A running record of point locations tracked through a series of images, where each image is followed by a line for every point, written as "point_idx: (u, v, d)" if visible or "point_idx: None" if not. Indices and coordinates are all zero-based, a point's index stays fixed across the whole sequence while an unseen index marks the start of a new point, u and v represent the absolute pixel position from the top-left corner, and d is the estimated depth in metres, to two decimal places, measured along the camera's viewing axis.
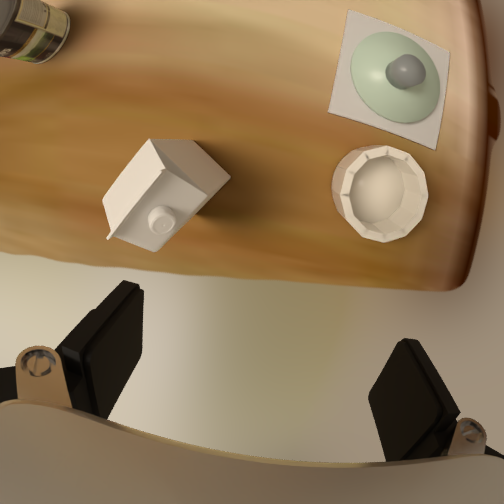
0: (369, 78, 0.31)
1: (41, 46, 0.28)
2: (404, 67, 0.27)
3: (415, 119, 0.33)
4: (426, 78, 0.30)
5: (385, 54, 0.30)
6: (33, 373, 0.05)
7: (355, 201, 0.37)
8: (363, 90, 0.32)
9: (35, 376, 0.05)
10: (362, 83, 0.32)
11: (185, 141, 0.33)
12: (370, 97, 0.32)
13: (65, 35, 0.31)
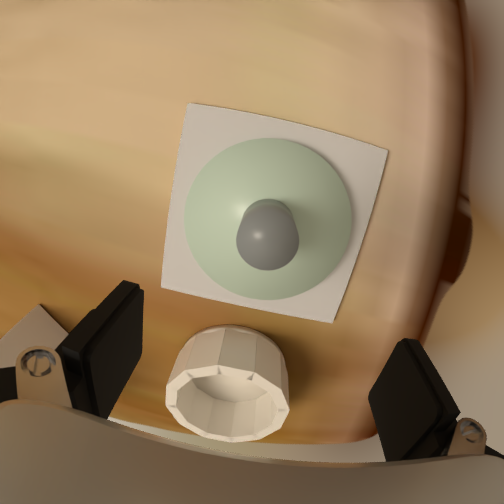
0: (212, 239, 0.24)
1: None
2: (252, 241, 0.19)
3: (294, 293, 0.25)
4: (323, 220, 0.23)
5: (243, 189, 0.22)
6: (33, 373, 0.05)
7: (210, 384, 0.30)
8: (202, 260, 0.24)
9: (35, 376, 0.05)
10: (200, 248, 0.24)
11: (19, 325, 0.25)
12: (215, 269, 0.25)
13: None
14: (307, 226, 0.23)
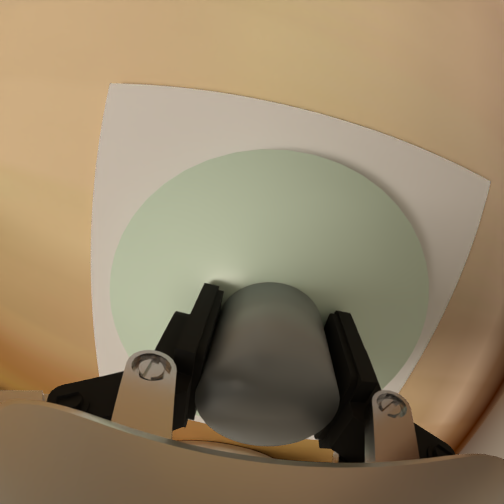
0: None
1: None
2: (230, 406, 0.08)
3: None
4: (378, 319, 0.11)
5: (217, 262, 0.11)
6: (143, 375, 0.06)
7: None
8: None
9: (144, 379, 0.06)
10: None
11: None
12: None
13: None
14: None
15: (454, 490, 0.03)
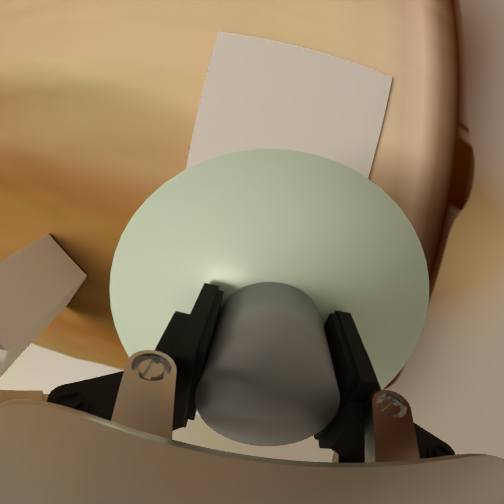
0: None
1: None
2: (231, 406, 0.08)
3: None
4: (378, 318, 0.11)
5: (217, 262, 0.11)
6: (143, 375, 0.06)
7: None
8: None
9: (144, 379, 0.06)
10: None
11: (27, 249, 0.26)
12: None
13: None
14: None
15: (454, 490, 0.03)
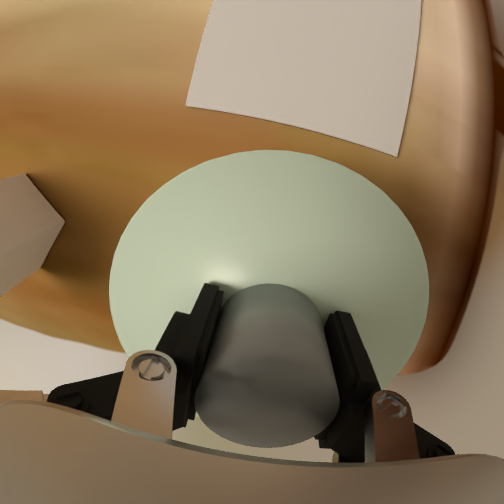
0: None
1: None
2: (230, 408, 0.08)
3: None
4: (378, 320, 0.11)
5: (217, 263, 0.10)
6: (143, 375, 0.06)
7: None
8: None
9: (144, 379, 0.06)
10: None
11: None
12: None
13: None
14: None
15: (454, 490, 0.03)
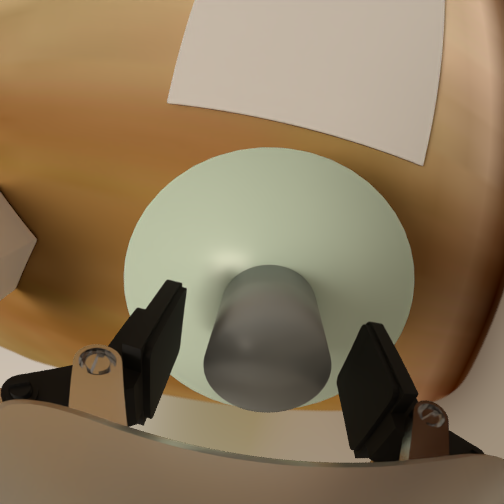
0: None
1: None
2: (235, 370, 0.09)
3: (309, 401, 0.15)
4: (368, 299, 0.12)
5: (223, 247, 0.12)
6: (91, 371, 0.06)
7: None
8: None
9: (92, 374, 0.06)
10: None
11: None
12: (182, 369, 0.14)
13: None
14: (339, 310, 0.13)
15: (454, 490, 0.03)
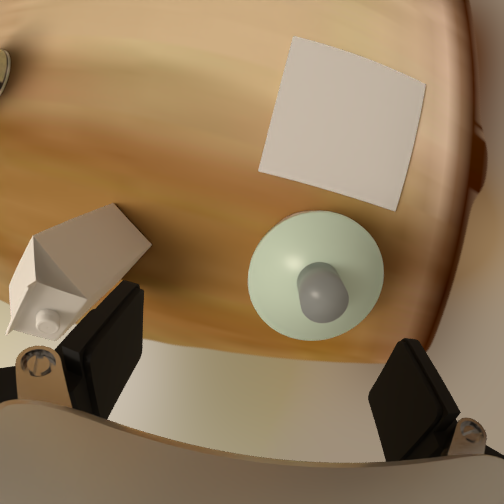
0: (271, 292, 0.28)
1: None
2: (313, 301, 0.24)
3: (333, 335, 0.29)
4: (362, 279, 0.27)
5: (301, 253, 0.27)
6: (33, 373, 0.05)
7: None
8: (261, 309, 0.29)
9: (35, 376, 0.05)
10: (260, 300, 0.29)
11: (96, 212, 0.29)
12: (270, 316, 0.29)
13: (5, 79, 0.28)
14: (349, 284, 0.28)
15: (454, 490, 0.03)
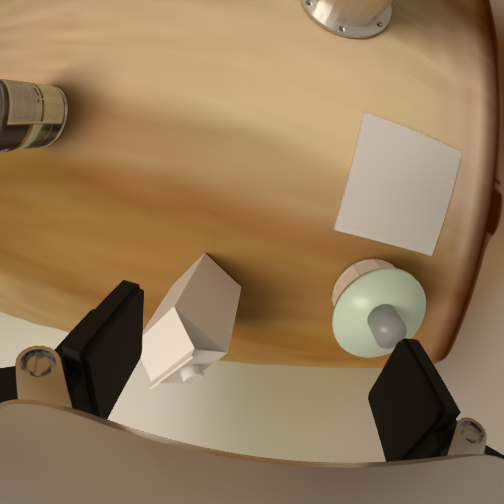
0: (349, 326, 0.36)
1: (40, 138, 0.33)
2: (384, 335, 0.32)
3: (388, 352, 0.37)
4: (411, 313, 0.35)
5: (372, 299, 0.35)
6: (33, 373, 0.05)
7: None
8: (340, 338, 0.37)
9: (35, 376, 0.05)
10: (340, 332, 0.37)
11: (200, 267, 0.37)
12: (346, 343, 0.37)
13: (64, 120, 0.35)
14: (402, 317, 0.36)
15: (454, 490, 0.03)
